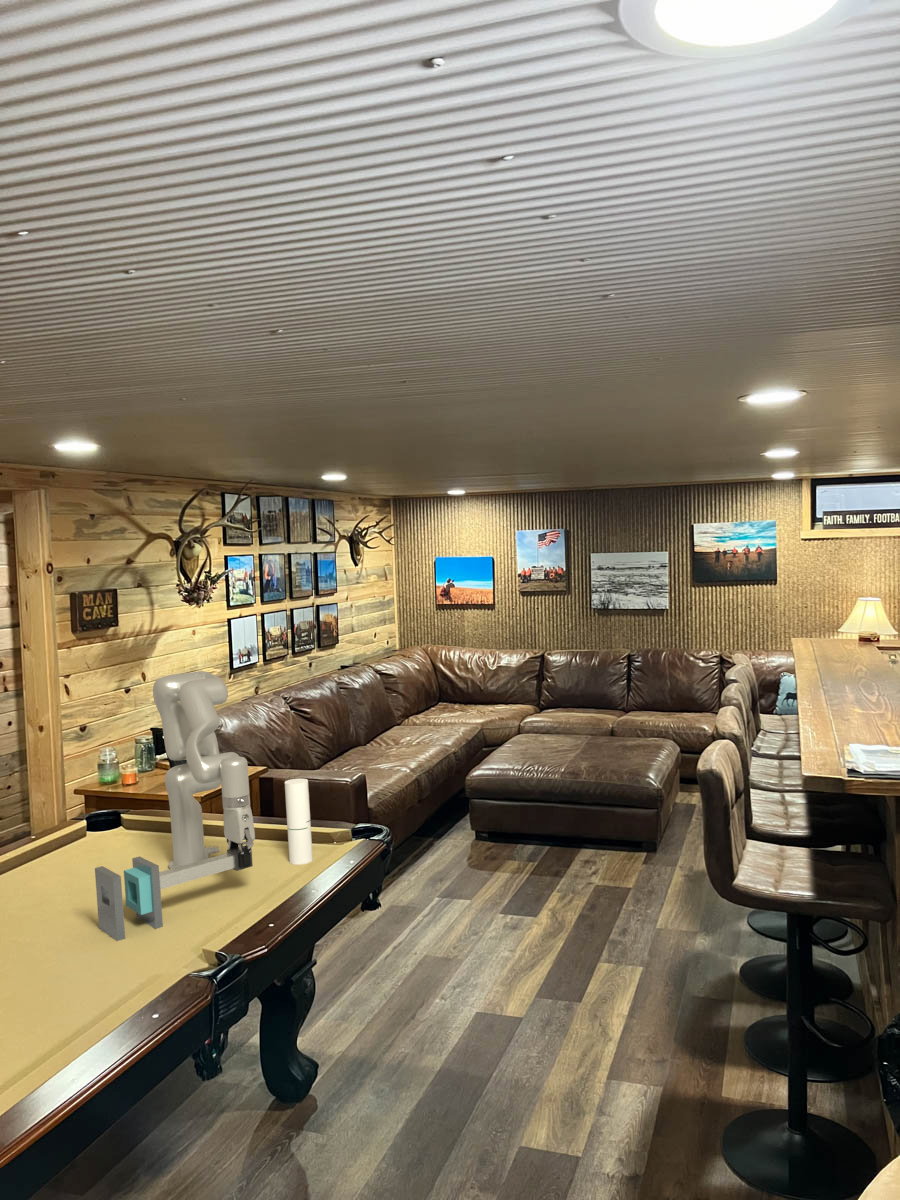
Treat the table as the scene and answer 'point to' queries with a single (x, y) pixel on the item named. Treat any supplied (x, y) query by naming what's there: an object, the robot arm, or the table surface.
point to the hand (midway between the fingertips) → (240, 864)
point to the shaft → (202, 868)
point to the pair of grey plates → (113, 903)
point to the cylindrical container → (298, 821)
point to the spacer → (138, 891)
